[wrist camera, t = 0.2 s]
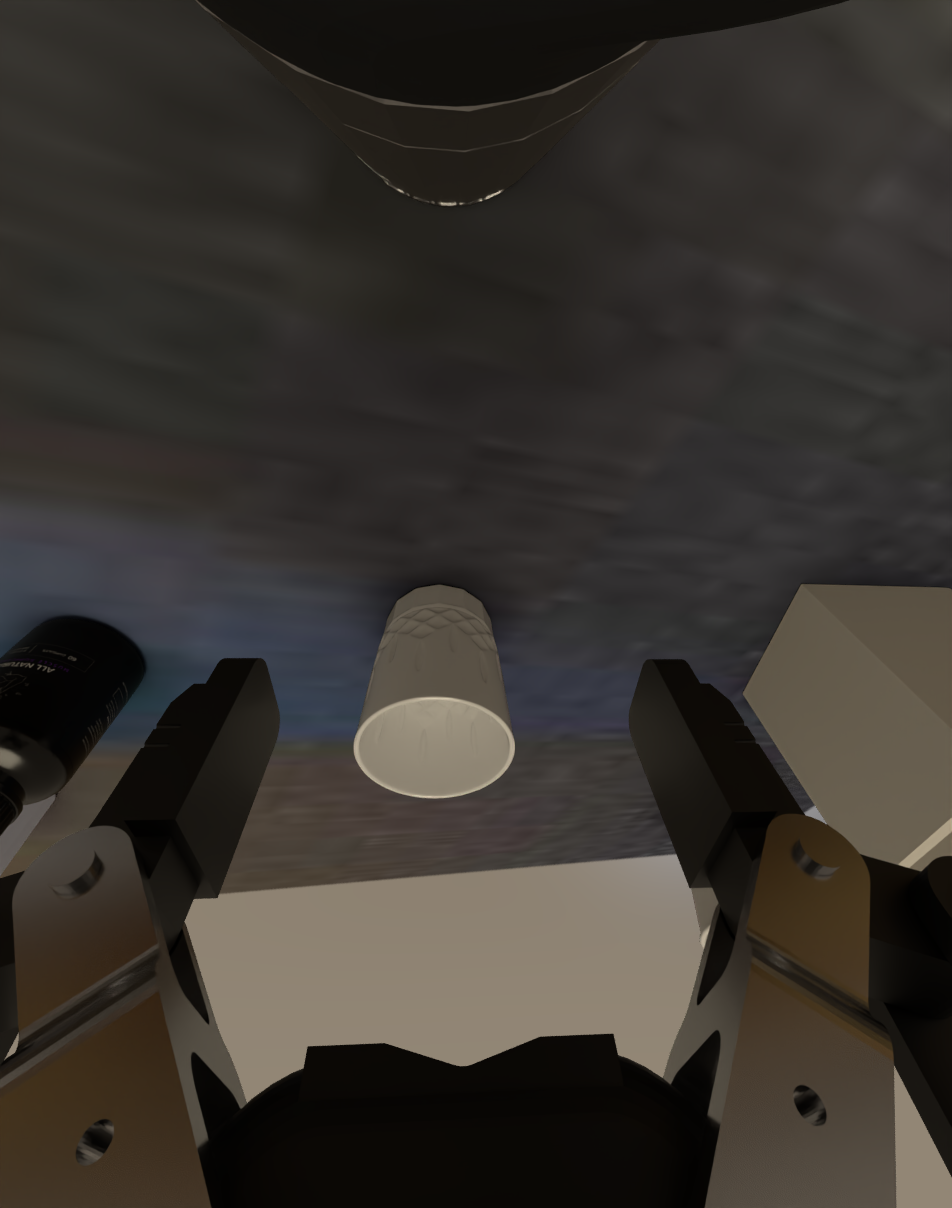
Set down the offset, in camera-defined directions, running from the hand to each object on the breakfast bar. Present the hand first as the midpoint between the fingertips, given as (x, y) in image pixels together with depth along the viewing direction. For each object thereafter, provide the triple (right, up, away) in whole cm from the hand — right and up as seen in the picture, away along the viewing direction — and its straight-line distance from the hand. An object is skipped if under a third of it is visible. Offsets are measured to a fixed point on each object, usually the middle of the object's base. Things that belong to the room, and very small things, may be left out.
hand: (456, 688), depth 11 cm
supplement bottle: (-25, -1, +22) cm, 33 cm away
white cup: (-2, +1, +22) cm, 22 cm away
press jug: (+26, -2, +25) cm, 36 cm away
